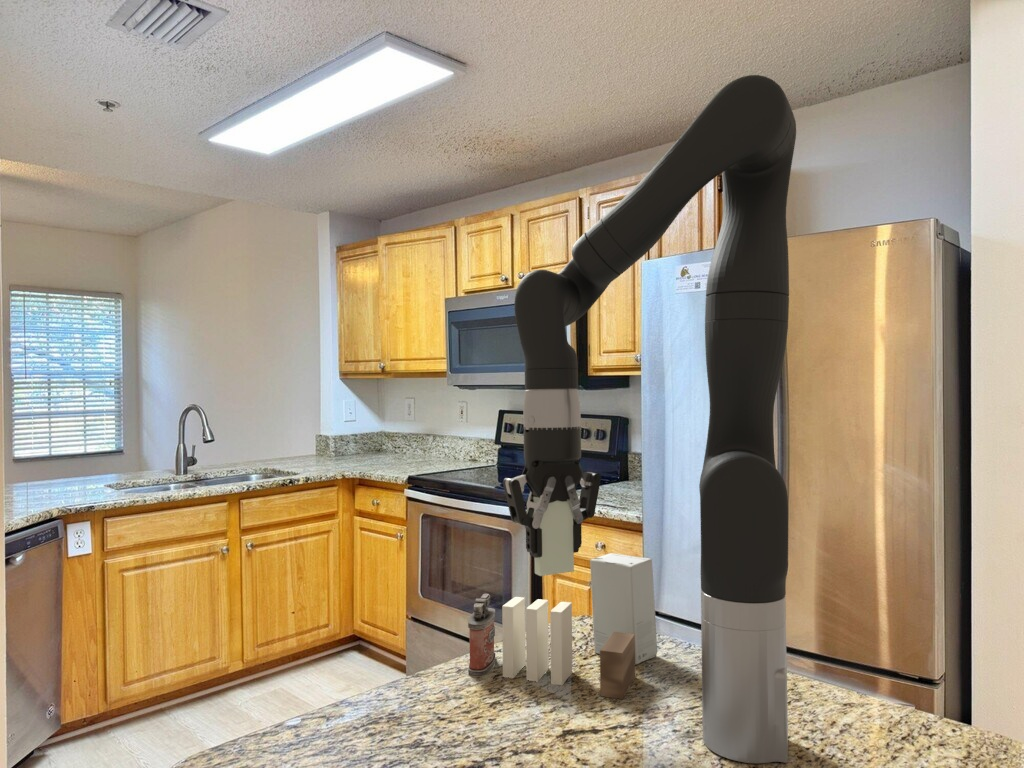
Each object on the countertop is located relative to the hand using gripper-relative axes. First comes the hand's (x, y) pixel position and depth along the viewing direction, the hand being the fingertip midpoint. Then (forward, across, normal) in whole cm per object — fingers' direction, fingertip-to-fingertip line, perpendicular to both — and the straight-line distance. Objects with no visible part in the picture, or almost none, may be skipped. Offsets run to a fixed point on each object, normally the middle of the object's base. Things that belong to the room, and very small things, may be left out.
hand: (554, 553), depth 93 cm
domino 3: (+2, 0, 0) cm, 2 cm away
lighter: (+19, +4, -16) cm, 25 cm away
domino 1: (+19, 0, -12) cm, 22 cm away
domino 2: (+19, -2, -9) cm, 21 cm away
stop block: (+19, -10, 0) cm, 22 cm away
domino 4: (+19, -5, -6) cm, 21 cm away
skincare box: (+19, -18, -10) cm, 28 cm away
